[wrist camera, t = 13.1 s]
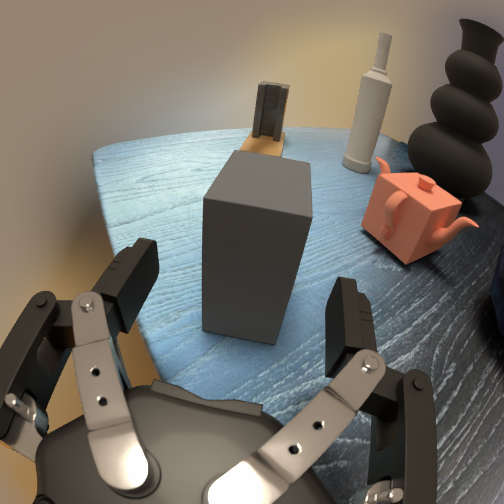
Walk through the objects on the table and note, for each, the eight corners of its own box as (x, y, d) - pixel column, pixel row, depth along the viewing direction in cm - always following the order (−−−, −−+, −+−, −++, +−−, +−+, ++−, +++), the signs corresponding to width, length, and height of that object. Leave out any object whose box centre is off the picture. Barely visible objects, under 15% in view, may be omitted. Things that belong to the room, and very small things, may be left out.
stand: (238, 156, 45) (246, 87, 38) (253, 132, 57) (260, 80, 50) (279, 163, 45) (290, 94, 38) (284, 138, 56) (293, 85, 50)
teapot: (420, 300, 24) (463, 226, 19) (326, 213, 34) (344, 147, 29) (465, 268, 29) (496, 211, 24) (386, 203, 39) (404, 150, 34)
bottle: (336, 163, 48) (365, 27, 33) (350, 159, 52) (377, 34, 36) (361, 175, 46) (395, 34, 30) (373, 171, 49) (405, 41, 33)
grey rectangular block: (201, 330, 19) (203, 197, 13) (229, 250, 26) (240, 141, 20) (275, 345, 19) (312, 217, 13) (285, 260, 26) (309, 153, 20)
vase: (404, 161, 59) (437, 23, 37) (472, 196, 51) (513, 58, 30) (391, 182, 46) (434, -3, 24) (481, 228, 39) (537, 45, 17)
